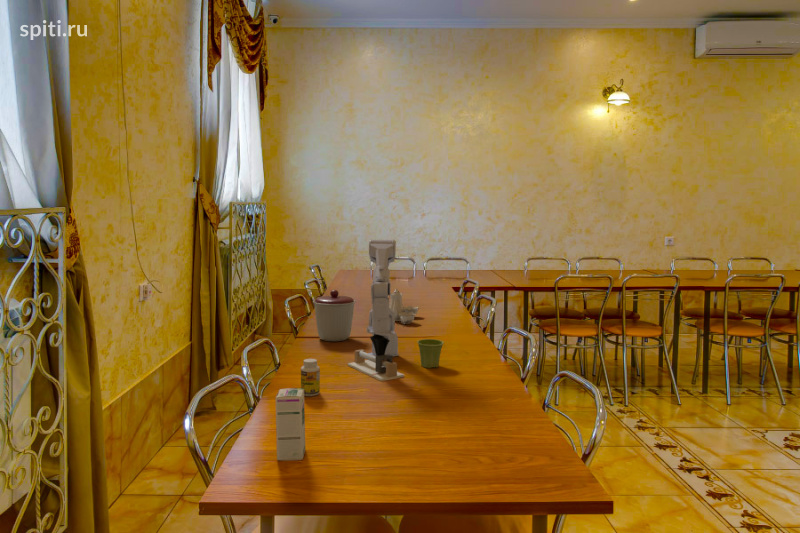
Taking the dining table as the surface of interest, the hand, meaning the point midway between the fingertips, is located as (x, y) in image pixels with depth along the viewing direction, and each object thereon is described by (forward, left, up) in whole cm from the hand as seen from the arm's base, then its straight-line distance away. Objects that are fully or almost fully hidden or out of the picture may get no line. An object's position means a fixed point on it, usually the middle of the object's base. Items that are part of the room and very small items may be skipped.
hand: (380, 357), depth 189 cm
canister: (-11, -53, -6) cm, 55 cm away
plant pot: (-20, +2, -6) cm, 21 cm away
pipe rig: (0, -3, -6) cm, 6 cm away
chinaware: (-59, -72, -6) cm, 93 cm away
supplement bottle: (+29, +7, -6) cm, 30 cm away
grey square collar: (0, +2, -4) cm, 5 cm away
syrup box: (+51, +43, -6) cm, 67 cm away
